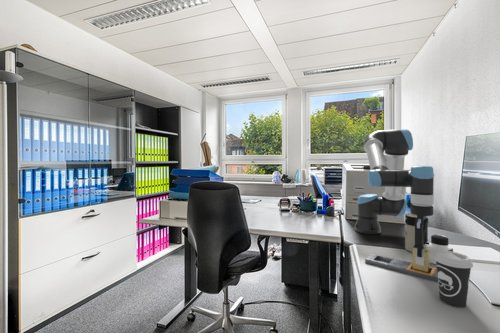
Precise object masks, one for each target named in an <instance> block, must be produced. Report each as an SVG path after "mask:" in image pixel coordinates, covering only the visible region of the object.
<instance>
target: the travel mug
mask: <svg viewBox="0 0 500 333" xmlns="http://www.w3.org/2000/svg"><path fill="white" fill-rule="evenodd" d="M405 215H406V218H405V221H404V223H405V224H404V225H405V227H404V228H405V230H404V231H405V234H404V235H405V237H404V238H405V239H404V247H405V250H406V251H408V252H411V253H413V248H414V247H413V246H414V245H415V225H414V223H415V219H416V218H417V215H414V214H411V212H409V213H405Z"/></svg>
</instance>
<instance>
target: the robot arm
mask: <svg viewBox="0 0 500 333" xmlns="http://www.w3.org/2000/svg"><path fill="white" fill-rule="evenodd" d="M413 148H414V139H413V134H412V132H411V131H410V130H409V129H401V128H400V129H399V128H398V129H397V128H396V129H386V130H385V129H384V130H382V129H381V130H376V131H374V132H372V133H370V134H369V135H368V136H367V137H366V138H365V140H364V141H363V150H364V152H365V153H366V155H367V160H368V164H369V170H368V171H367V184H368V185H369V186H370V187H377V188H378V187H381V188H383V187H384V192H382V194H381V196H379V195H378V194H376V193H366V194H361V195H358V197H357V220H356V222H355V225H354V231H355V232H358V233H360V234H366V235H378V234H381V232H382V228H381V225H380V222H379V219H378V218H379V216H382V217H383V216H386V217H403V216H404V215H406V212H407V208H408V206H407V205H408V201H407V198H406V197H405V196H404V194H403V193H402V190H403V188H410V195H408V198H409V199H410V205H409V206H410V211H409V213H411V214H414V215H417V218H416V219H415V223H414V225H415V245H414V246H413V247H414V248H416V264H418V265H422V266H424V248H426V249H427V246H428V245H430V242H428V241H429V239H428V238H429V237H428V236H429V235H428V234H429V233H428V232H429V230H428V228H429V225H428V224H429V218H428V217H432V216H433V215H434V206H433V205H434V200H435V199H434V196H435V195H434V185H435V184H434V178H435V172H434V167H433V166H430V165H413V166H411V168H410V169H405V158H406V156H408V155H409V152H410V151H412V150H413ZM385 156H387V159H386V157H385Z"/></svg>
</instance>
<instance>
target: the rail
mask: <svg viewBox="0 0 500 333" xmlns="http://www.w3.org/2000/svg"><path fill="white" fill-rule="evenodd" d="M378 260H379V261H378ZM387 262H389V263H387ZM364 263H366V264H370V265H374V266H376V267H381V268H385V269H388V270H390V271H391V270H392V271H396V272H398V273H402V274H406V275H410V276H414V277H418V278H421V279H425V280H429V281H432V282H436V283H438V274H437V267H432V266H430V271H429V273H424V272H421V271H417V270H413V261H412V262H410V261H406V260H401V259H397V258H394V257H389V256H384V255H380V254H375V253H374V252H373V253H370V255H368V256H367V257H366V258H365V259H364Z"/></svg>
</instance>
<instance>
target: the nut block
mask: <svg viewBox="0 0 500 333" xmlns="http://www.w3.org/2000/svg"><path fill="white" fill-rule="evenodd" d="M412 263H413V270H417V271H421V272H424V273H428V274H430V272H429V271H430V267H431V263H430V249H426V248H424V266H422V265H418V264H416V248H413V252H412Z"/></svg>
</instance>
